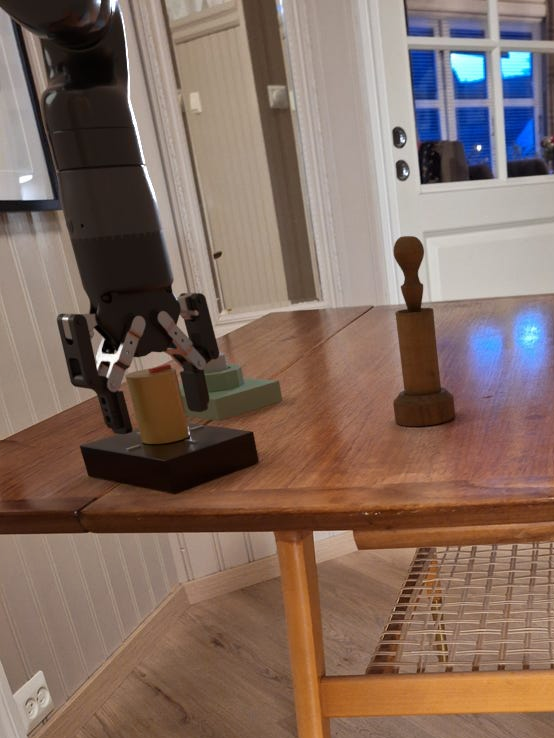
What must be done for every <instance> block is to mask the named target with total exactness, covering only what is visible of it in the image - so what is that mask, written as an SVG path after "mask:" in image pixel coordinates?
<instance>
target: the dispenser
mask: <svg viewBox="0 0 554 738" xmlns="http://www.w3.org/2000/svg"><path fill="white" fill-rule="evenodd" d="M227 365H228V369H227V370H223V371H220V372H213V373H204V374H205V379H206V384H207V389H208V393H209V403H208V404H207V405H208V409H207V410H206V411H203V412H194V411H190V410H189V408H188V406H187V402H186V398H185V393H184V389H183V384H182V383H179V387H180V391H181V396H182V400H183V404H184V409H185V413H186V417H187V418H196V419H202V420H211V421H218V422H220V421H223V420H227V419H230V418H233V417H236V416H239V415H243V414H246V413H249V412H252V411H255V410H258V409H259V410H260V409H261V408H265V407H269V406H271V405H274V404H277V403H281V402H283V395H282V390H281V383H280V381H279V380H275V379H263V378H252V377H244V374H243V369H242V366H241V365H240V364H238V363H227Z"/></svg>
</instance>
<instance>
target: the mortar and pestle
mask: <svg viewBox="0 0 554 738" xmlns="http://www.w3.org/2000/svg"><path fill="white" fill-rule="evenodd" d="M424 256H425V248H424V245H423V243H422V241H421V240H420V239H419V238H418V237H417V236H413V235H404V236H400V237H398V238H397V239H396V241H395V242H394V245H393V257H394V260H395V262H396V263H397V265H398V267H399V268H400V271H402V273H403V277H404V280H403V284H402V285H400V291H401V295H402V297H403V300H404V304H405V306H406V308H405V309H400V310H399V309H398V310H396V311H395V322H396V323H395V324H396V331H397V339H398V347H399V357H400V365H401V375H402V381H403V382H402V383H403V390H402V391H400V392H399V393H398V395H397V396H396V397H395V398H394V399H393V402H392V403H393V404H392V405H393V413H394V422H395V423H396V424H397V425H400V426H404V427H424V426H426V427H427V426H433V425H438V424H439V425H440V424H442V423H446V422H449V421H451V420H453V419H454V418H455V417H456V407H455V399H454V394H453V393H452V392H450V391H449V390H448V389H447V388H446V387H442V383H441V374H440V368H439V367H440V366H439V365H440V364H439V356H438V355H439V354H438V346H437V345H438V344H437V337H436V336H437V335H436V325H435V323H436V322H435V312H434V308H432V307H422V302H423V298H424V297H423V296H424V284H423V283H421V280H420V277H419V270H420V267H421V265H422V263H423V260H424Z"/></svg>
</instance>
